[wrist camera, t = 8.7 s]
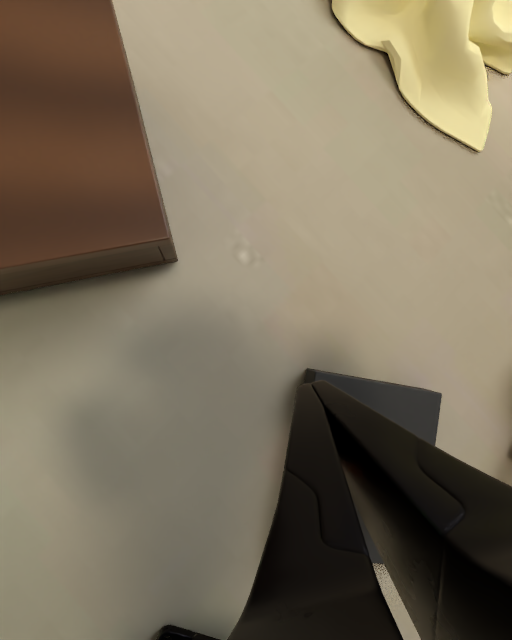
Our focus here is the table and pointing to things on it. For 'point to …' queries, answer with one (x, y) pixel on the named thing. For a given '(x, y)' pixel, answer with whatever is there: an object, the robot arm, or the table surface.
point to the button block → (388, 413)
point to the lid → (70, 139)
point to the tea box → (92, 265)
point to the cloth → (439, 55)
